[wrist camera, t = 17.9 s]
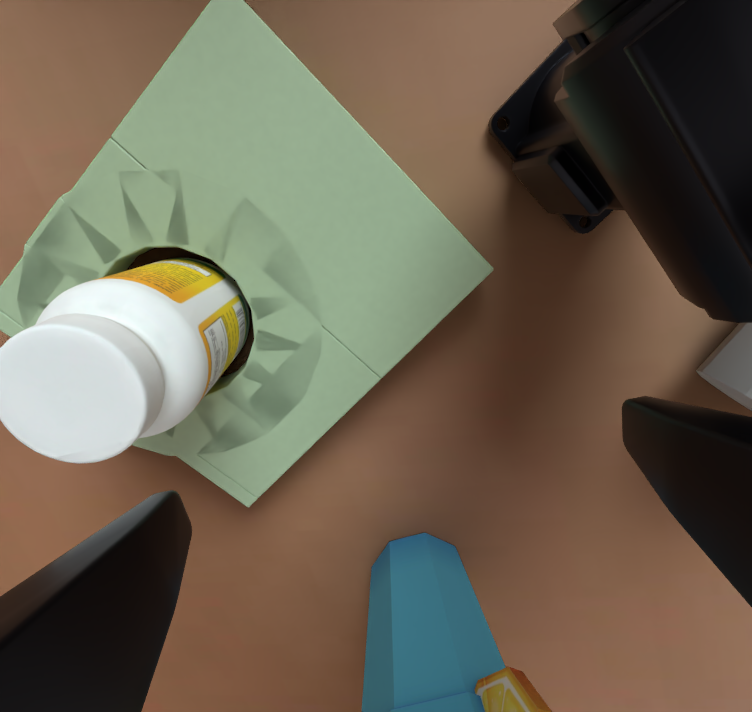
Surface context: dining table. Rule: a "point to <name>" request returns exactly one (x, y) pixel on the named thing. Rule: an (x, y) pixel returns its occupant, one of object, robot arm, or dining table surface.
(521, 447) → the dining table surface
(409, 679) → the cup
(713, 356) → the faucet
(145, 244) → the holder plate
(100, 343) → the supplement bottle
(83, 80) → the dining table surface
